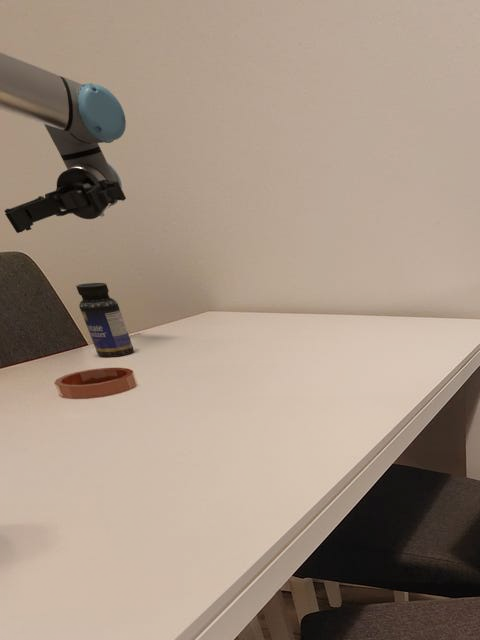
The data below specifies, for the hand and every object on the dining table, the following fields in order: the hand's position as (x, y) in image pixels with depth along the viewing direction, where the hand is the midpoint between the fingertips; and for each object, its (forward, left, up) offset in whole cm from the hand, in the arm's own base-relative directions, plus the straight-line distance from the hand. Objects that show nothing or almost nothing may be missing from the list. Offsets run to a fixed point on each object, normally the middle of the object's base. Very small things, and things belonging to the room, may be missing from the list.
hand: (53, 212), depth 98 cm
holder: (+18, -34, -21) cm, 44 cm away
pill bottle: (+4, -3, -21) cm, 22 cm away
